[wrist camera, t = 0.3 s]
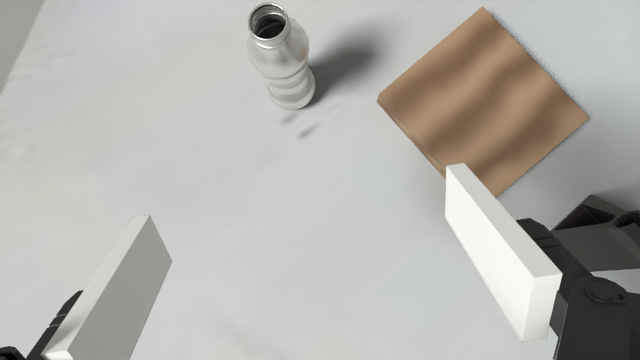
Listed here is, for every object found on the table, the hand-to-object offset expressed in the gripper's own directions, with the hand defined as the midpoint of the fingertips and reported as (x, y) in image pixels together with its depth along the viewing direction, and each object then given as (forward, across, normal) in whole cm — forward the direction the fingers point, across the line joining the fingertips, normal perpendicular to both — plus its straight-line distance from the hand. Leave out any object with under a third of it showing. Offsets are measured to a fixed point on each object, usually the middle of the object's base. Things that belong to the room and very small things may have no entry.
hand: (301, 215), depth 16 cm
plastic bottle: (+39, +2, +5) cm, 40 cm away
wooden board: (+35, -23, +11) cm, 43 cm away
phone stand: (+24, -34, +27) cm, 50 cm away
